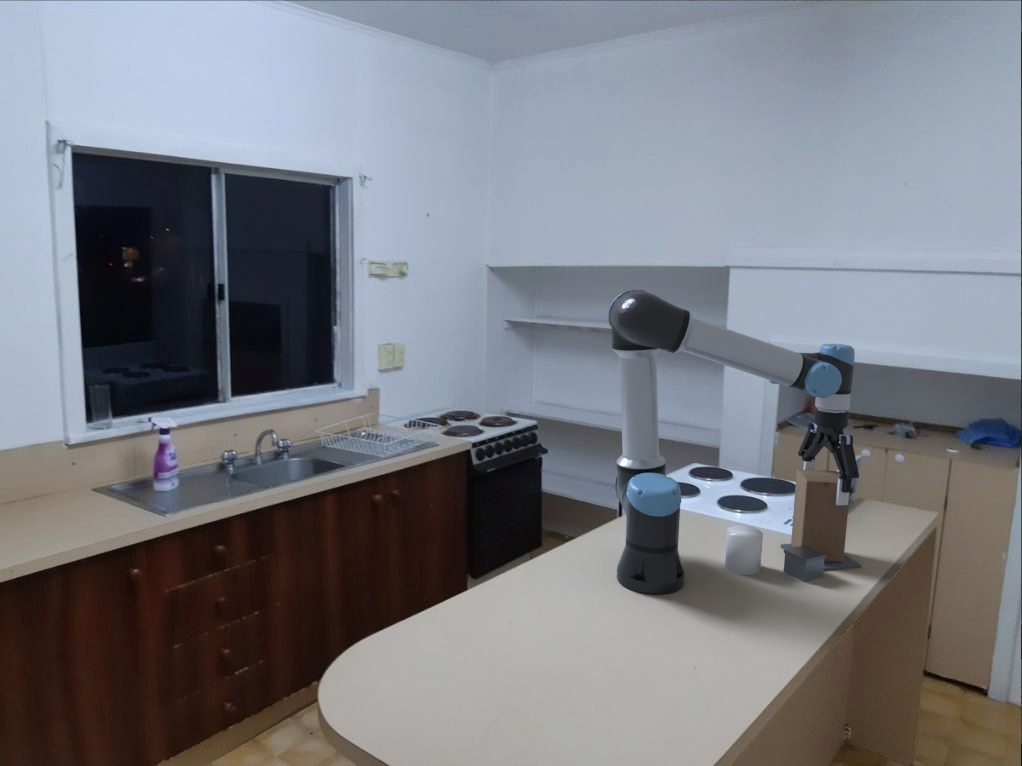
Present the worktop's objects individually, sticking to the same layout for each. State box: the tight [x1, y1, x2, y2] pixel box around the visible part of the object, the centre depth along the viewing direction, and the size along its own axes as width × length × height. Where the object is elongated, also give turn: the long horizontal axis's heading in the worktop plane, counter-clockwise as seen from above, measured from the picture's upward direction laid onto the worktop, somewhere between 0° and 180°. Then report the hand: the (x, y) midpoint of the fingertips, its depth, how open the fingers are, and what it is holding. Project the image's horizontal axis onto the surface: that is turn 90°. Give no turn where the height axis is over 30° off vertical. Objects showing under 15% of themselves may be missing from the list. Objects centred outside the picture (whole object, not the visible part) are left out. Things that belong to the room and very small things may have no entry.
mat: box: [780, 543, 862, 572], centre depth 181 cm, size 12×15×1 cm
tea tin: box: [783, 545, 826, 583], centre depth 170 cm, size 6×6×6 cm
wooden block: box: [790, 469, 851, 563], centre depth 179 cm, size 10×10×20 cm
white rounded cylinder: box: [724, 525, 764, 576], centre depth 174 cm, size 8×8×9 cm
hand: (823, 495), depth 178 cm, fingers open, 13 cm apart
